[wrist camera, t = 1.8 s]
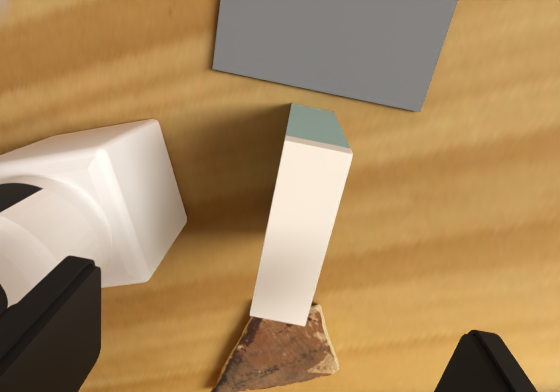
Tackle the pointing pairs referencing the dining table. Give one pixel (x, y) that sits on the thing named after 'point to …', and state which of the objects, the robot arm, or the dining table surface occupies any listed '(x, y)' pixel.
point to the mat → (337, 45)
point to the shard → (278, 354)
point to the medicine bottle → (87, 206)
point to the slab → (301, 214)
